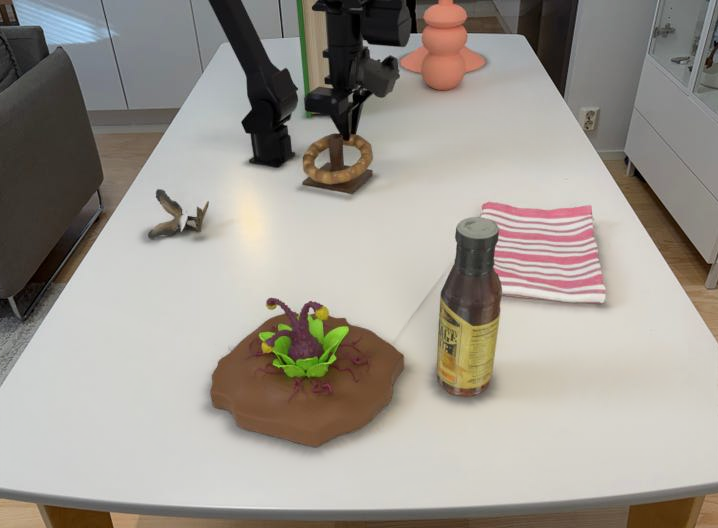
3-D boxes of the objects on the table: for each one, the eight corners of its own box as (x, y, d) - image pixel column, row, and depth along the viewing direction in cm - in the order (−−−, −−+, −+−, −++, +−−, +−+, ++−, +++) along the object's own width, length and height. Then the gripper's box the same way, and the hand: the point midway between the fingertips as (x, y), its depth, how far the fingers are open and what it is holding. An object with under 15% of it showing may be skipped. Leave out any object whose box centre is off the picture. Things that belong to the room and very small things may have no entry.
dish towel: (591, 222, 105) (595, 201, 103) (605, 309, 88) (610, 286, 86) (478, 216, 108) (480, 196, 106) (470, 299, 90) (472, 277, 88)
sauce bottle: (431, 366, 80) (437, 210, 67) (485, 361, 80) (500, 205, 68) (441, 404, 75) (449, 243, 62) (497, 399, 75) (517, 238, 63)
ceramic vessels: (402, 49, 181) (402, -32, 169) (483, 49, 180) (488, -33, 168) (395, 94, 154) (394, 1, 142) (490, 93, 153) (497, 0, 141)
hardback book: (341, 118, 143) (333, -10, 128) (306, 117, 145) (295, -10, 130) (357, 90, 157) (352, -29, 142) (325, 90, 158) (317, -29, 143)
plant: (331, 471, 68) (322, 385, 61) (185, 403, 76) (163, 321, 69) (427, 360, 81) (429, 279, 74) (293, 313, 89) (284, 236, 82)
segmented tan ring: (292, 179, 117) (289, 170, 115) (323, 136, 123) (321, 126, 121) (354, 191, 113) (352, 182, 111) (384, 146, 118) (382, 136, 117)
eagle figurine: (215, 214, 109) (161, 200, 110) (205, 190, 102) (147, 176, 103) (199, 256, 107) (144, 242, 107) (188, 236, 100) (129, 221, 101)
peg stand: (302, 188, 118) (298, 141, 113) (327, 168, 124) (324, 123, 119) (349, 197, 115) (346, 149, 110) (372, 176, 121) (371, 130, 116)
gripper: (364, 63, 100) (367, 166, 110) (414, 31, 113) (413, 126, 123) (298, 56, 104) (307, 155, 114) (354, 26, 117) (358, 117, 127)
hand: (349, 138), depth 119 cm, fingers closed on segmented tan ring, 2 cm apart
